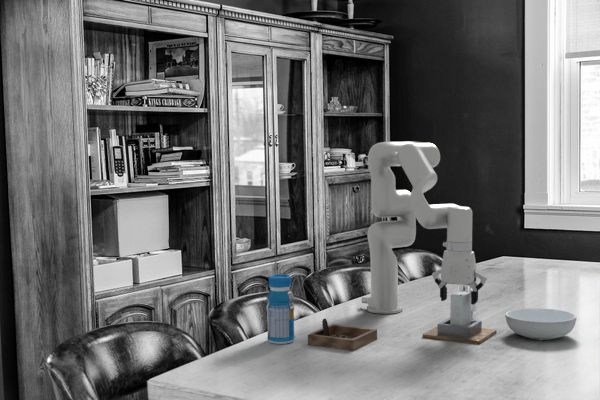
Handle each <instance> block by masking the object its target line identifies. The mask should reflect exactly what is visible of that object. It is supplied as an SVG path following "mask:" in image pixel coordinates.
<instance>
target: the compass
mask: <svg viewBox="0 0 600 400" xmlns="http://www.w3.org/2000/svg"><path fill="white" fill-rule="evenodd" d="M321 323H322V324H321V325H322V328H323V332H324V336H329V327H328V326H329V323H328V318H323V319H322V321H321ZM331 337H339V338H347V339H350V337H348V336H344V335H333V336H331Z"/></svg>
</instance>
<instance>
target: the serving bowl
mask: <svg viewBox="0 0 600 400" xmlns="http://www.w3.org/2000/svg"><path fill="white" fill-rule="evenodd" d="M504 317H505V321H506V324H507V326H508V327H509V328H510V330H511V331H512V332H514V333H515V334H517V335H520V336H522V337H525V338H528V339H531V340H537V341H538V340H539V341H541V340H542V341H547V340H548V341H549V340H553V339H557V338H561V337H564V336H566V335H569V333H571V332H572V330H573V329H574V328H575V326H576V322H577V315H576V314H575V313H573V312H570V311H565V310H561V309H553V308H552V309H551V308H543V307H541V308H537V307H536V308H535V307H534V308H533V307H532V308H531V307H530V308H517V309H512V310H508V311H507V312H505V316H504Z"/></svg>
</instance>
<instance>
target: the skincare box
mask: <svg viewBox="0 0 600 400" xmlns="http://www.w3.org/2000/svg"><path fill="white" fill-rule="evenodd" d="M449 318H450V325H459V326H469V325H470V321H471V293H470V292H458V291H457V292H454V293H451V294H450V317H449Z"/></svg>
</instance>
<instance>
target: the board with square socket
mask: <svg viewBox="0 0 600 400" xmlns="http://www.w3.org/2000/svg"><path fill="white" fill-rule="evenodd" d="M482 326H483V325H482V320H480V319H478V320H471V321H470V325H469V326H459V325H450V317H448V318H447V319H444V320H443V321H441V322H438V323H437V325H436V326H435V327H433V328H431V329H429V330H428V331H426V332H424V333H422V338H424V339H425V338H426V339H430V340H431V339H433V340H442V341H449V342H457V343H466V344H473V345H474V344H475V345H481V344H482V343H484V342H485V341H487V340H488V339H489V338H491V337H493V336H494V335H495V334H497V329H492V328H484V327H482Z"/></svg>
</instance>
